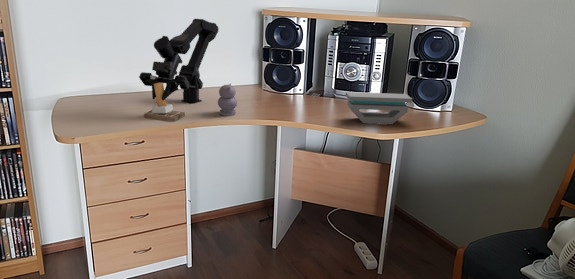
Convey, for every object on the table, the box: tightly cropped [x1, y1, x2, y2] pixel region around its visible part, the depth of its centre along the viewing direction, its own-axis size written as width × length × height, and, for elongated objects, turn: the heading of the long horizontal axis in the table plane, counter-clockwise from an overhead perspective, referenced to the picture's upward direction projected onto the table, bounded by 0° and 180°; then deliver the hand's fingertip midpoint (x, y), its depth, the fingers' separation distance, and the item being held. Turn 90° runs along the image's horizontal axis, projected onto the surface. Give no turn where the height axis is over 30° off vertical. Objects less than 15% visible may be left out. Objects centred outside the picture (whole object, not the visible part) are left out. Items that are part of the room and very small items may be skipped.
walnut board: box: [143, 109, 186, 122], centre depth 168 cm, size 8×13×2 cm, turn 77°
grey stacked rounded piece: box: [217, 83, 238, 117], centre depth 175 cm, size 8×8×12 cm
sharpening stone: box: [345, 91, 413, 125], centre depth 176 cm, size 25×8×11 cm, turn 94°
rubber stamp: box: [150, 83, 174, 113], centre depth 167 cm, size 5×6×11 cm
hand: (157, 99), depth 165 cm, fingers closed on rubber stamp, 3 cm apart
